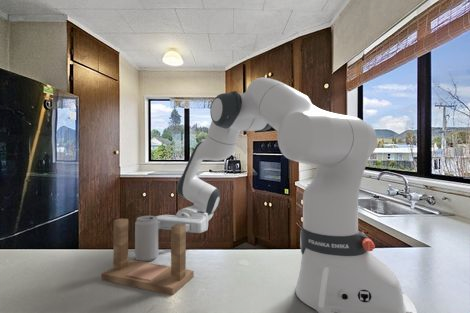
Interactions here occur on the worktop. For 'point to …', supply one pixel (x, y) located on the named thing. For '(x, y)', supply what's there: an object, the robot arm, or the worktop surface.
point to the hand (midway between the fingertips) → (165, 229)
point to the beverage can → (146, 238)
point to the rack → (148, 273)
